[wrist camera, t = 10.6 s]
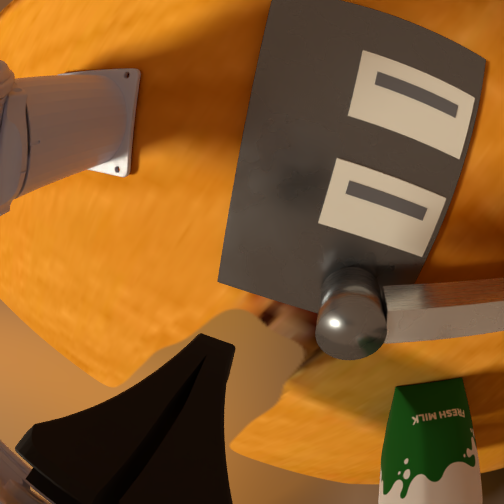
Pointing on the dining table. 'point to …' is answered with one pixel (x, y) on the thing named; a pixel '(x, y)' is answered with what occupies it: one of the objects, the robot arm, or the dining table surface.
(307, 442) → the dining table surface
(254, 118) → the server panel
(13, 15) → the dining table surface
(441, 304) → the bar
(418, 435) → the milk carton
